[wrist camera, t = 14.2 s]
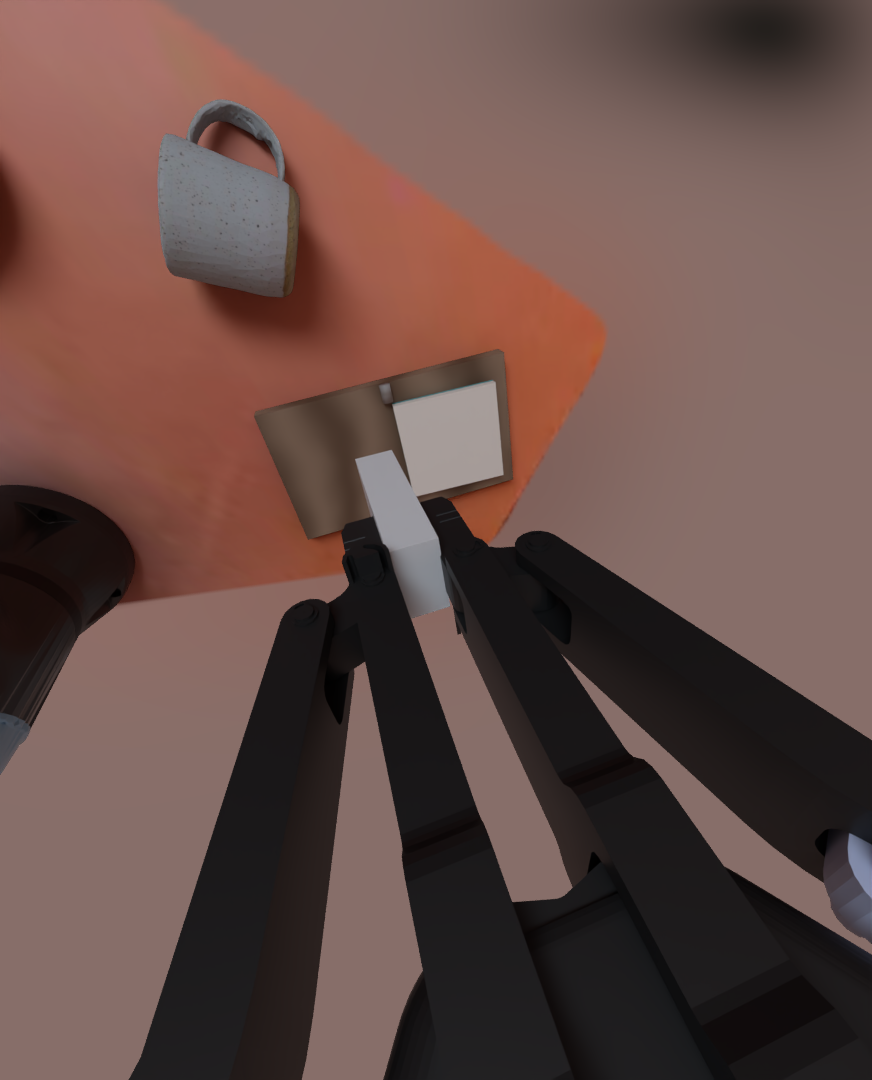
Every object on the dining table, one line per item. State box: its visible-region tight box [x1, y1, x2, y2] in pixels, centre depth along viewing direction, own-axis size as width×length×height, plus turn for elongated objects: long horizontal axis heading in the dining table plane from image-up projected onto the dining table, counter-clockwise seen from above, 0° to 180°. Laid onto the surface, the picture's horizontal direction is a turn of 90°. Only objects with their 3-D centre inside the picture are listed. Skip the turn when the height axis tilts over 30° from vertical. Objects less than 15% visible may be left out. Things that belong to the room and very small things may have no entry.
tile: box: [392, 380, 504, 496], centre depth 44 cm, size 10×10×1 cm
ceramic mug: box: [158, 100, 300, 297], centre depth 29 cm, size 11×8×8 cm
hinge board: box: [254, 349, 513, 540], centre depth 45 cm, size 24×14×2 cm, turn 100°
